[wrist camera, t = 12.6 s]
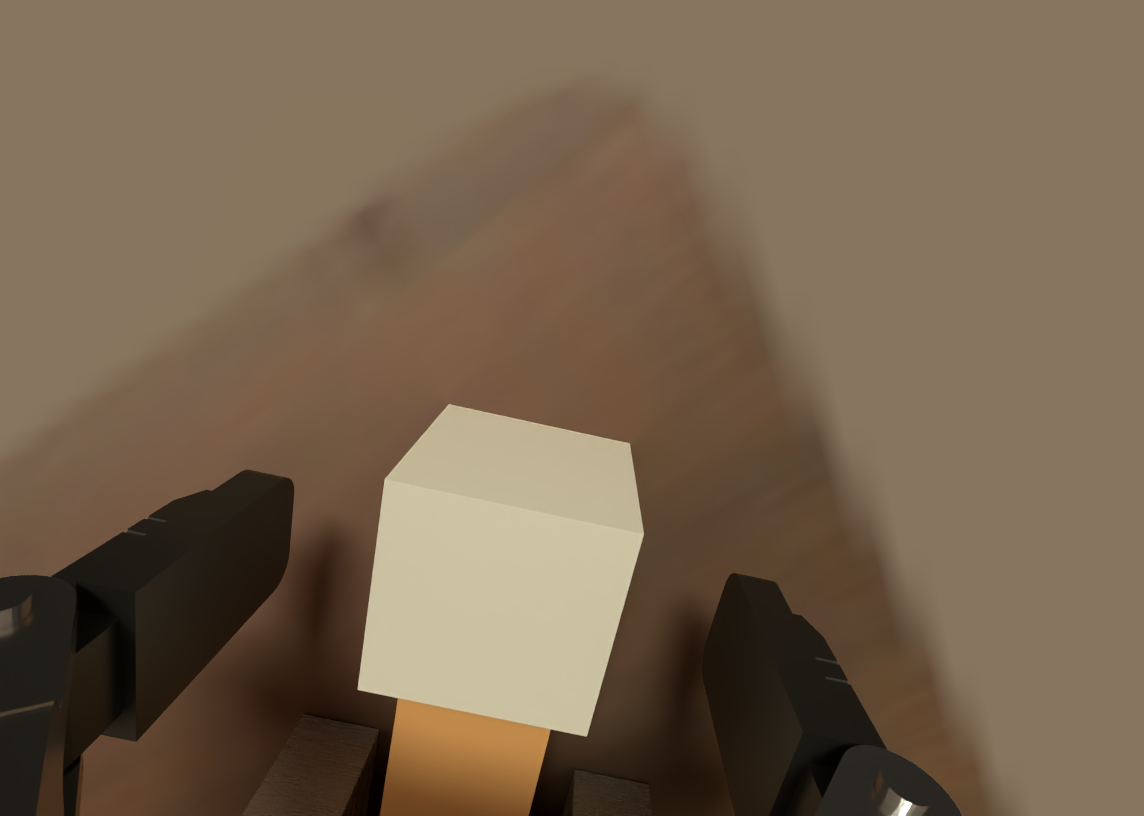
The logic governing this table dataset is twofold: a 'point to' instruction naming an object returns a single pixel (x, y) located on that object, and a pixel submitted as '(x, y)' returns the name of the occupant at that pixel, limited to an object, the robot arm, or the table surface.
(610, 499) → the plug
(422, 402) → the table surface
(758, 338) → the table surface
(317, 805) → the block
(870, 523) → the table surface
